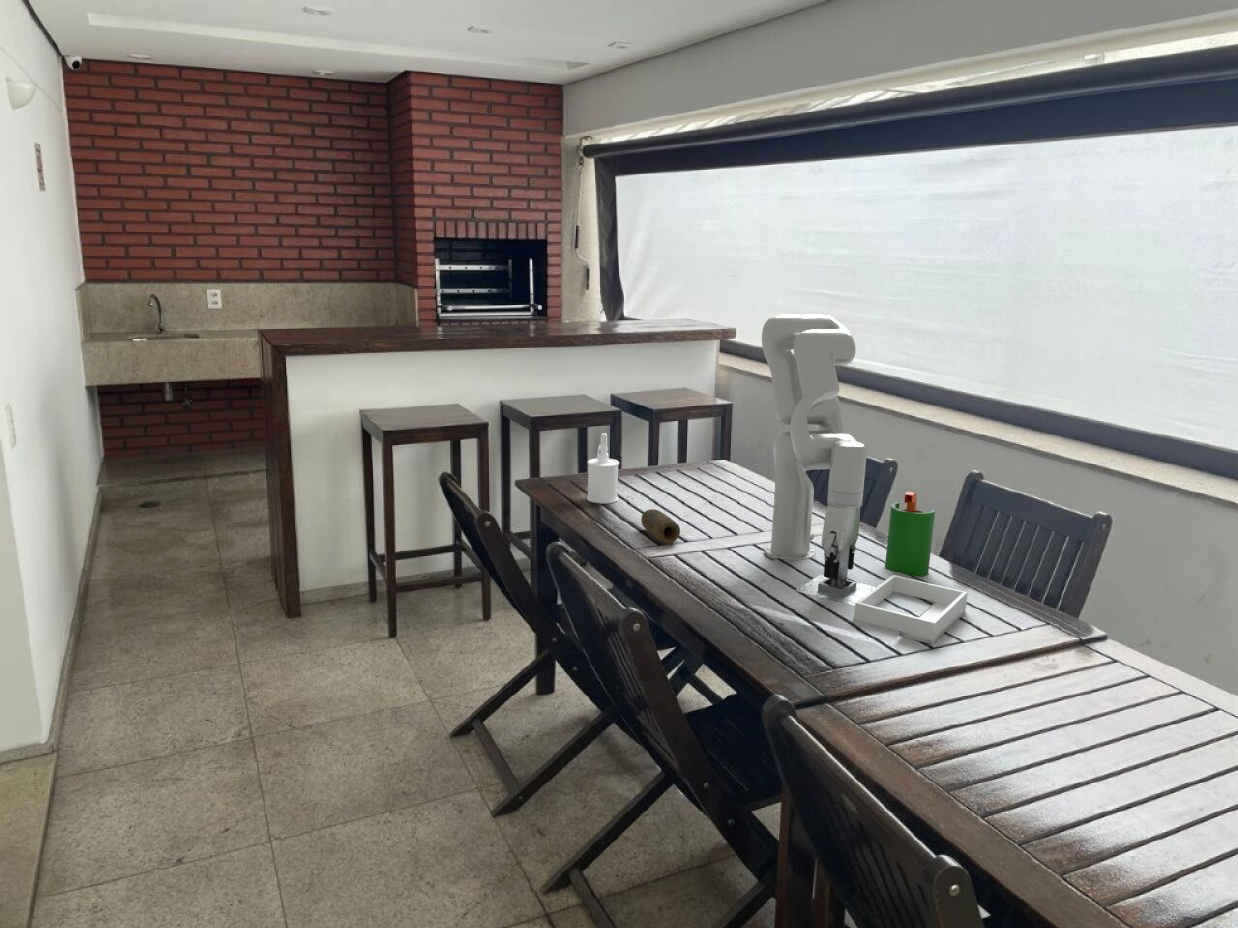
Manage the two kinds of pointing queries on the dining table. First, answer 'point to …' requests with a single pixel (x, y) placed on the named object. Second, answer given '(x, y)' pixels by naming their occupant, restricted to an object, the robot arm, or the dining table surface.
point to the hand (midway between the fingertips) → (838, 572)
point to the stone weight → (660, 526)
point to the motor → (909, 538)
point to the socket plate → (836, 590)
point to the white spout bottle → (602, 476)
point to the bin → (918, 628)
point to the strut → (841, 569)
